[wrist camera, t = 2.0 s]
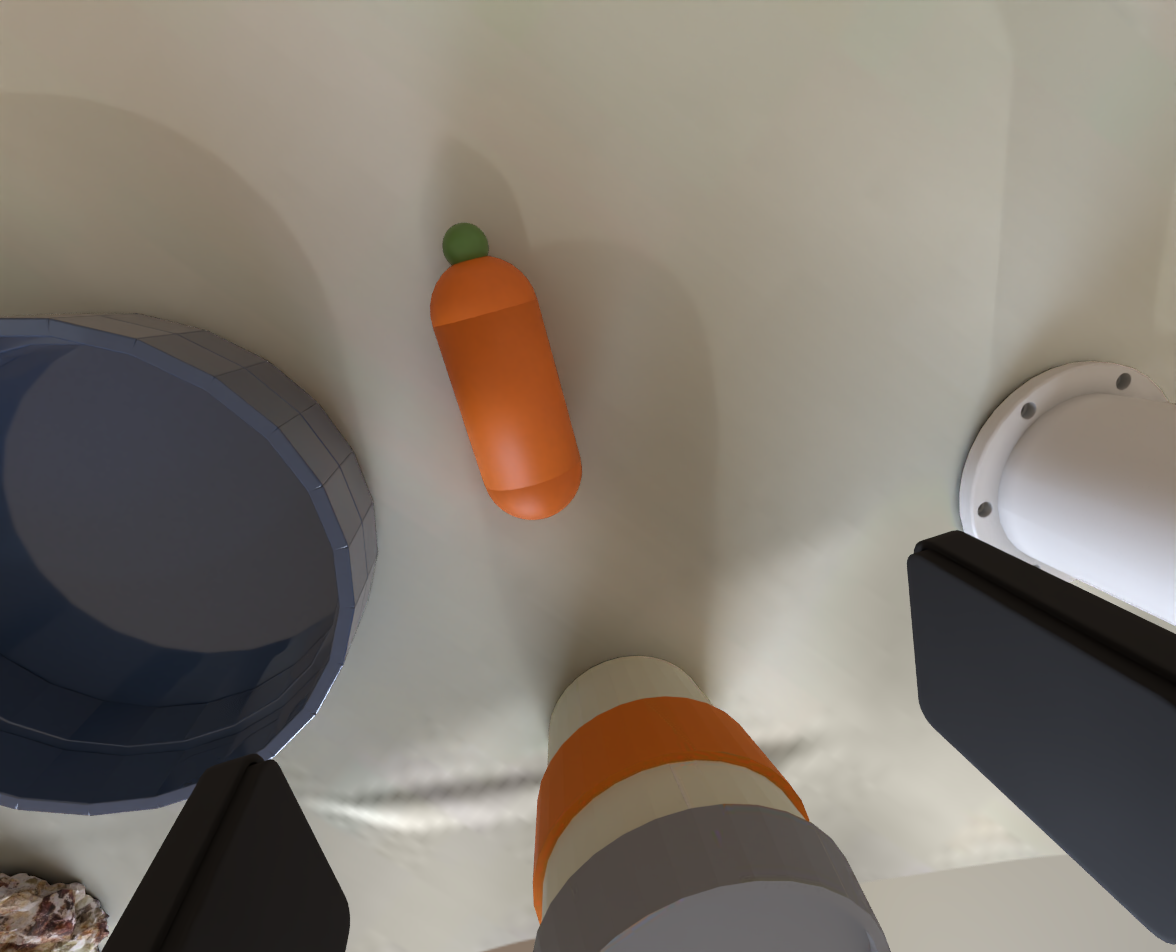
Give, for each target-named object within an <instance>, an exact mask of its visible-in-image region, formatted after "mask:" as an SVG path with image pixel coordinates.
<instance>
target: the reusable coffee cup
mask: <svg viewBox="0 0 1176 952" xmlns="http://www.w3.org/2000/svg"><path fill="white" fill-rule="evenodd" d="M533 896H534V907H535V910H536V913H537V917H538V920H539V923H540V927H539V929H538V931H537V936H536V940H535V945H534V950H533V952H891V951H890V948H889V946H888V943H887V941H886V937H885V935H884V933H883V931H882V929H881V927H880V925H879V923H878V921H877V919H876V917H875V915H874V913H873V911H872V909H871V907H870V905H869V903H868V901H867V899H866V897H865V895H864V893H863V891H862V889H861V887H860V885H859V883H858V881H857V879H856V877H855V875H854V873H853V871H852V869H851V867H850V865H849V863H848V861H847V859H846V858H845V856H844V855H843V853H842V852H841V851H840V849H839V848H838V847H837V845H836V844H835V843H834V841H833V840H832V839H831V838H830V837H829V836H828V835H826V834H825V833H824V832H823V831H821V830H820V829H819V828H818V827H816V826H815V825H814V824H813V823H811V822H809V818H808V816H807V813H806V811H805V808H804V805H803V803H802V800H801V799H800V798H799V796H798V795H797V794H796V792H795V791H794V790H793V788H792V787H791V785H790V784H789V783H788V782H787V780H786V779H785V778H784V777H783V776H782V774H781V773H780V772H779V771H778V770H777V769H776V767H775V766H774V765H773V764H772V763H771V761H770V760H769V759H768V758H767V757H766V755H765V754H764V753H763V752H762V751H761V749H760V748H759V747H758V746H757V745H756V744H755V742H754V741H753V740H752V739H751V738H750V736H749V735H748V734H747V733H746V732H745V730H744V729H743V728H742V727H741V726H740V724H739V723H737V722H736V721H735V720H734V719H733V718H731V717H730V716H729V715H728V714H727V713H725V712H724V711H722V710H720V709H718V708H716V707H714V706H713V705H712V704H711V702H710V701H709V700H708V699H707V697H706V696H705V695H704V694H703V692H702V691H701V690H700V689H699V687H698V686H697V685H696V684H695V683H694V681H693V680H692V679H691V678H690V676H689V675H687V674H686V673H685V672H684V671H683V670H681V669H680V668H679V667H677V666H675V665H673V664H671V663H669V662H668V661H665V660H661V659H658V658H654V657H647V656H628V657H620V658H616V659H612V660H609V661H605V662H603V663H601V664H599V665H597V666H595V667H592V668H590V669H589V670H587V671H586V672H585V673H583V674H582V675H580V676H579V677H577V678H576V679H575V680H574V681H573V682H572V683H571V684H570V685H569V686H568V687H567V688H566V690H565V691H564V692H563V694H562V695H561V697H560V698H559V700H558V701H557V703H556V706H555V708H554V710H553V713H552V716H551V721H550V726H549V741H548V767H547V770H546V772H545V774H544V776H543V779H542V781H541V785H540V790H539V795H538V800H537V818H536V836H535V854H534V873H533Z"/></svg>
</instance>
